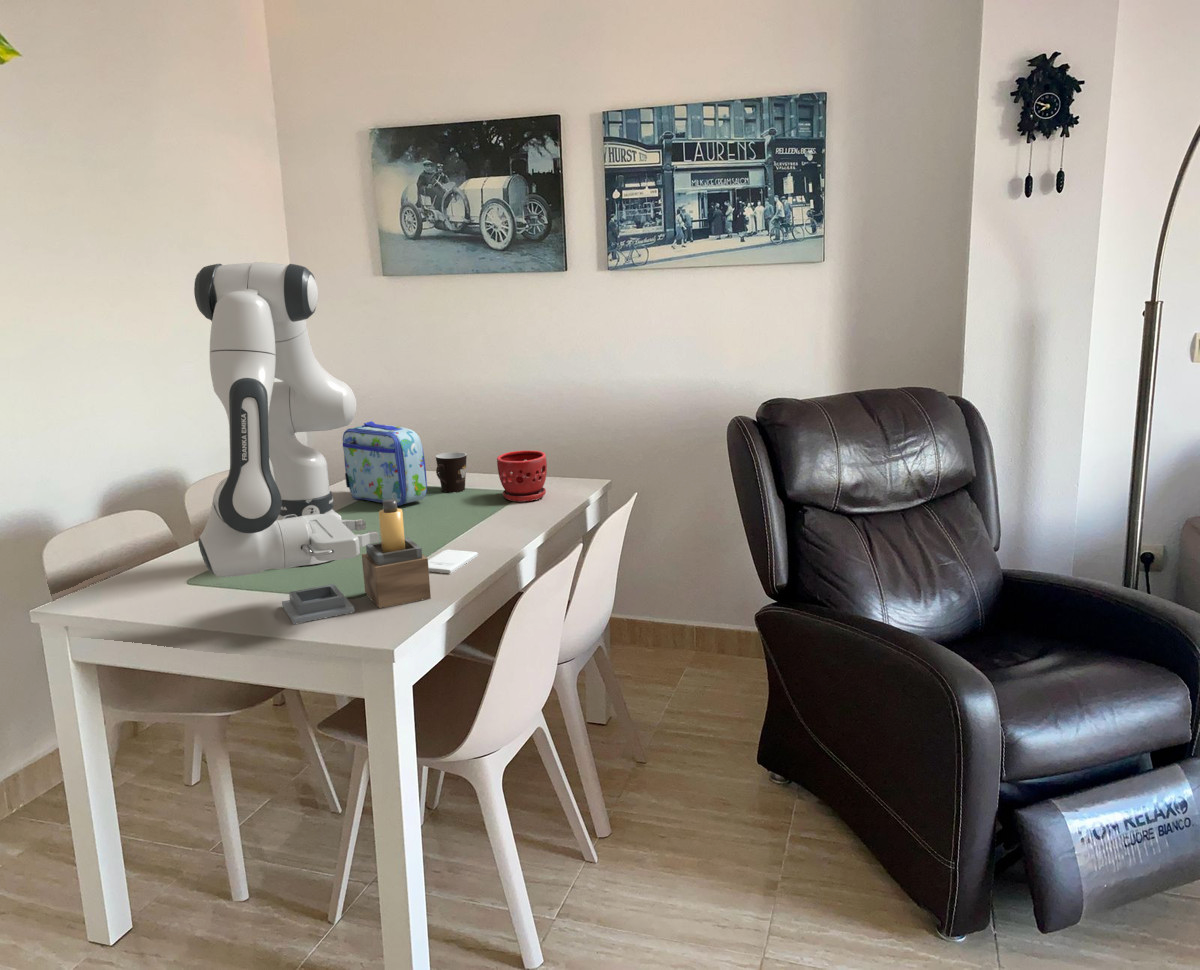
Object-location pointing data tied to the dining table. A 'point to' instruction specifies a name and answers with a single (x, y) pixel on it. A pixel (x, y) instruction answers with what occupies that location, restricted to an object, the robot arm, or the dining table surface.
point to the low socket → (316, 603)
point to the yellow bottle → (391, 527)
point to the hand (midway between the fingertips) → (371, 529)
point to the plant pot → (522, 475)
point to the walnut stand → (395, 574)
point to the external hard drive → (450, 560)
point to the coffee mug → (451, 471)
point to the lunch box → (384, 463)
